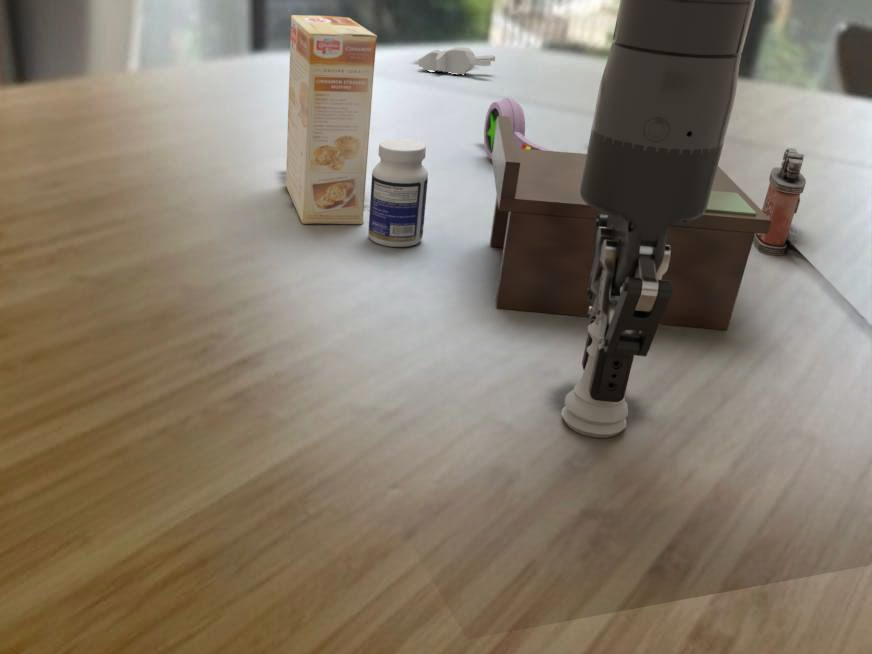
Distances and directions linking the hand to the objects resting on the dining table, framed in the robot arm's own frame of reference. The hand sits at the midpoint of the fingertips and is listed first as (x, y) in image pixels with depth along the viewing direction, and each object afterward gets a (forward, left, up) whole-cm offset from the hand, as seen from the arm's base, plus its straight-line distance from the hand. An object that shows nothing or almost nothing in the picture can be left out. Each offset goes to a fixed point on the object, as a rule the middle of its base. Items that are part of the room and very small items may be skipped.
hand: (601, 383), depth 62 cm
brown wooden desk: (-4, -28, -3) cm, 28 cm away
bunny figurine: (+10, -142, -3) cm, 142 cm away
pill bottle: (+16, -35, -3) cm, 39 cm away
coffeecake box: (+25, -45, -3) cm, 52 cm away
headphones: (-6, -68, -3) cm, 68 cm away
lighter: (-25, -45, -3) cm, 52 cm away
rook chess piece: (0, 0, -3) cm, 3 cm away
